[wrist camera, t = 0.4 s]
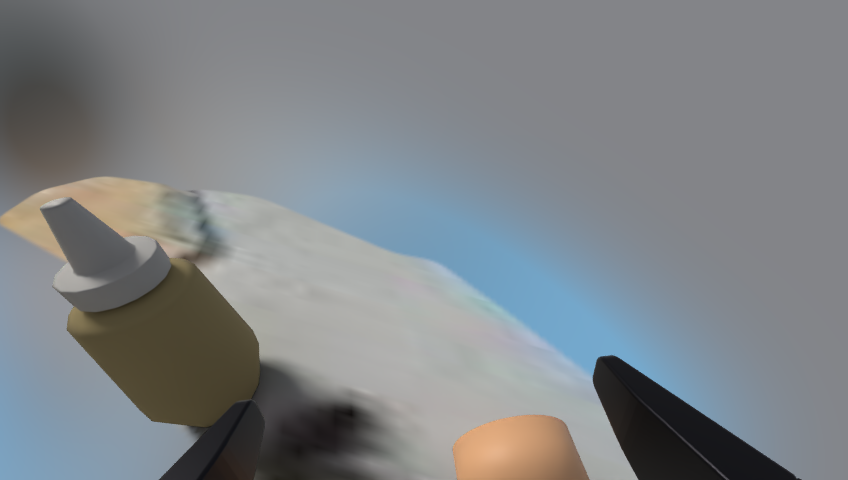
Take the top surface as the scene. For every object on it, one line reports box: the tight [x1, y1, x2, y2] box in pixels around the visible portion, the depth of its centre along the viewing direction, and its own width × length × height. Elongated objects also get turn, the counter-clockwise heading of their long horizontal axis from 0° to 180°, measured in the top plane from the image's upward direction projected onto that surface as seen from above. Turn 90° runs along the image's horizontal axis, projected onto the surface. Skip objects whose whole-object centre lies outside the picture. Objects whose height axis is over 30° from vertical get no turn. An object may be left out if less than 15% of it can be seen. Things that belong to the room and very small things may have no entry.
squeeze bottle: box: [40, 197, 260, 427], centre depth 21 cm, size 8×8×18 cm
